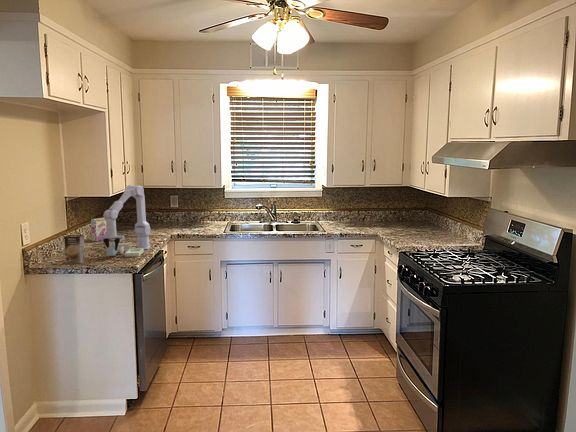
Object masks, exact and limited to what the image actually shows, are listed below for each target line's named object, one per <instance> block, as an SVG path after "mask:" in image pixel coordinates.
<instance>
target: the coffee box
mask: <svg viewBox="0 0 576 432" xmlns="http://www.w3.org/2000/svg"><path fill="white" fill-rule="evenodd" d="M64 252H65V264H83V263H85V261H86V260H85V259H86V256H85V254H86V252H85V236H84V234H68V235H66V236H64Z"/></svg>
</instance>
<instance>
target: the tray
mask: <svg viewBox="0 0 576 432" xmlns="http://www.w3.org/2000/svg"><path fill="white" fill-rule="evenodd" d="M144 250H145V249H144V248H138V247H135V248H133V247H130V249H129V250H128V251H125V252H124V258H139V257H140V256H141V255H142V254H143V253H144V252H145V251H144Z"/></svg>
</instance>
